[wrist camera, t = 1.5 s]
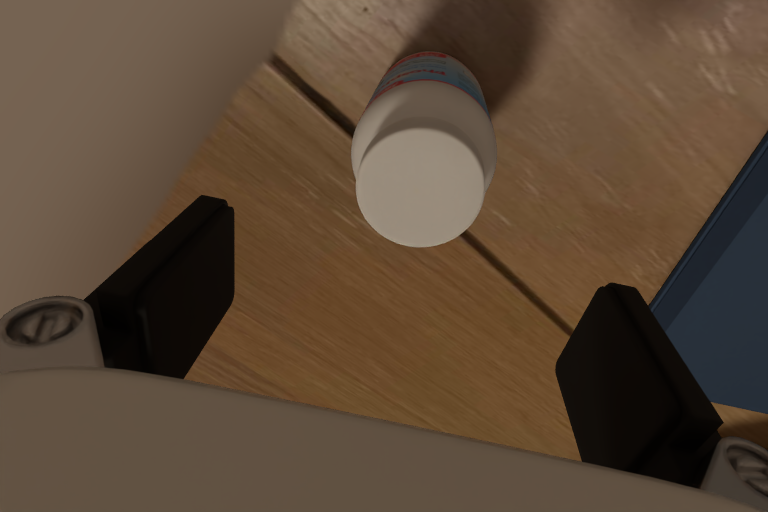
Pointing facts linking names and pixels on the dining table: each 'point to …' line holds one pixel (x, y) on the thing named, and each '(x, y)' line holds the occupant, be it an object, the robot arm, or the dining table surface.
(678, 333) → the book
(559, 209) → the dining table surface
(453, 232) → the pill bottle
